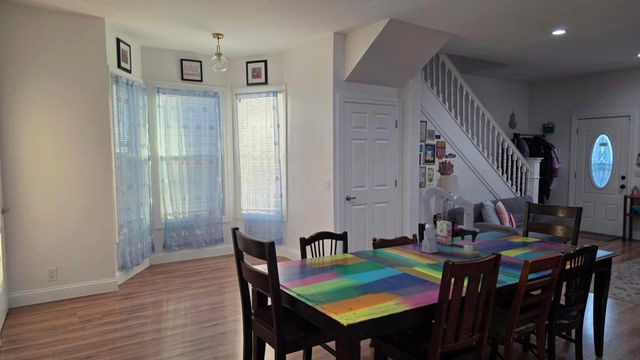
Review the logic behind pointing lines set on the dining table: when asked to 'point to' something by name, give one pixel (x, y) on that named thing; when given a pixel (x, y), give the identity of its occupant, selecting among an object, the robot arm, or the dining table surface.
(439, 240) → the candy bar box
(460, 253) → the power strip
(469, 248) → the charger
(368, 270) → the dining table surface
